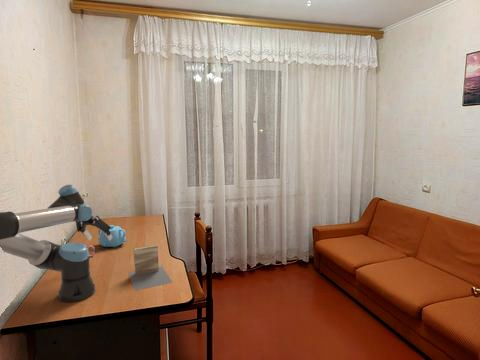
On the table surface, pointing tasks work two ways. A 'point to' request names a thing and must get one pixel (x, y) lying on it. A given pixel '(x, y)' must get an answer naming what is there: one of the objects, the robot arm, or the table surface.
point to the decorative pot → (117, 237)
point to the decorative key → (92, 251)
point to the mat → (149, 279)
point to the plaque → (146, 259)
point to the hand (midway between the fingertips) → (100, 239)
